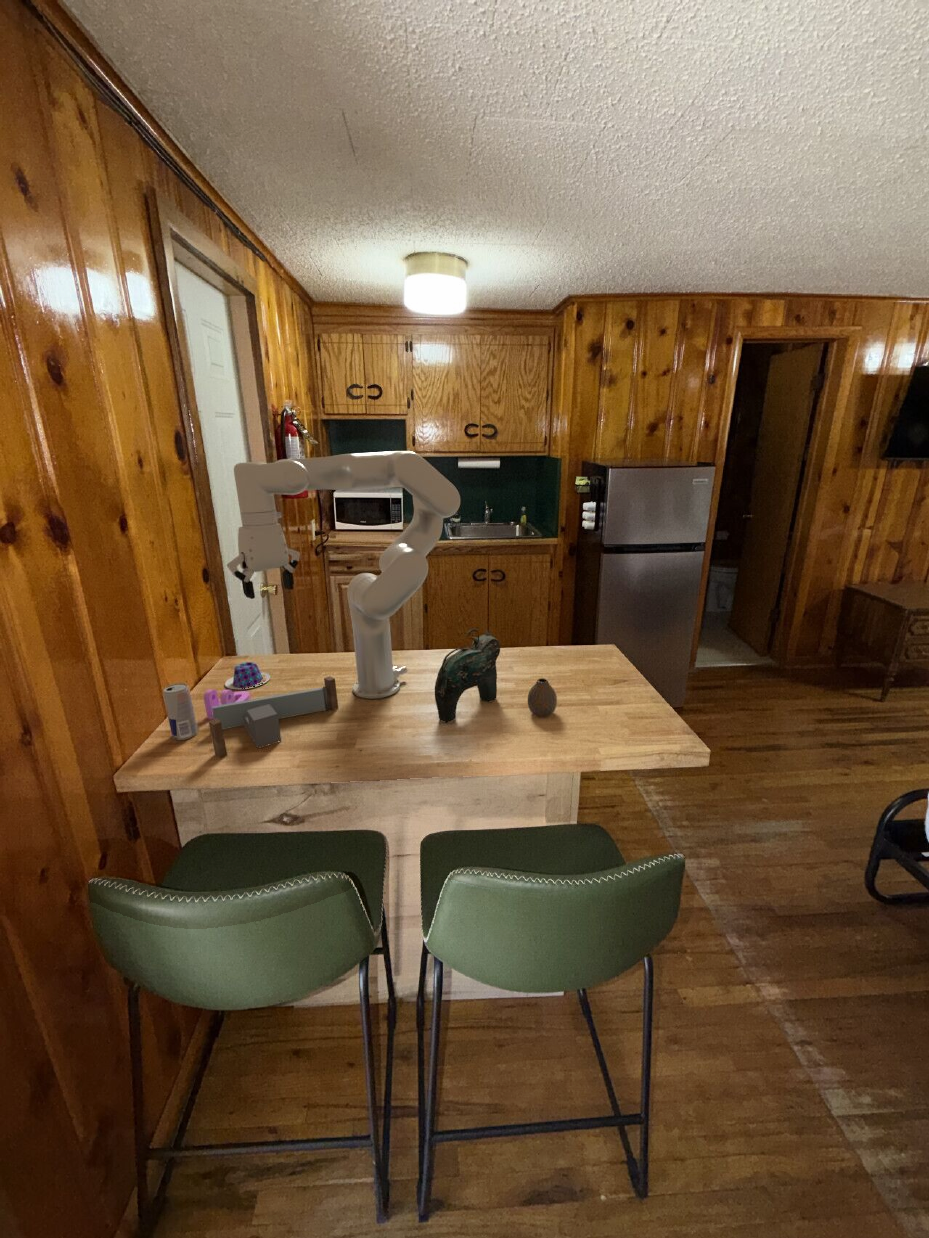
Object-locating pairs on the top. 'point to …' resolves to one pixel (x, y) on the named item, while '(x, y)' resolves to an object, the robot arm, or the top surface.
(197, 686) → the top surface
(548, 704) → the vase
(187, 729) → the energy drink
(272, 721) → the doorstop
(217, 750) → the frame
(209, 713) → the bracket
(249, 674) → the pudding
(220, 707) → the grey long flat board
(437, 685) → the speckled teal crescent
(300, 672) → the top surface
